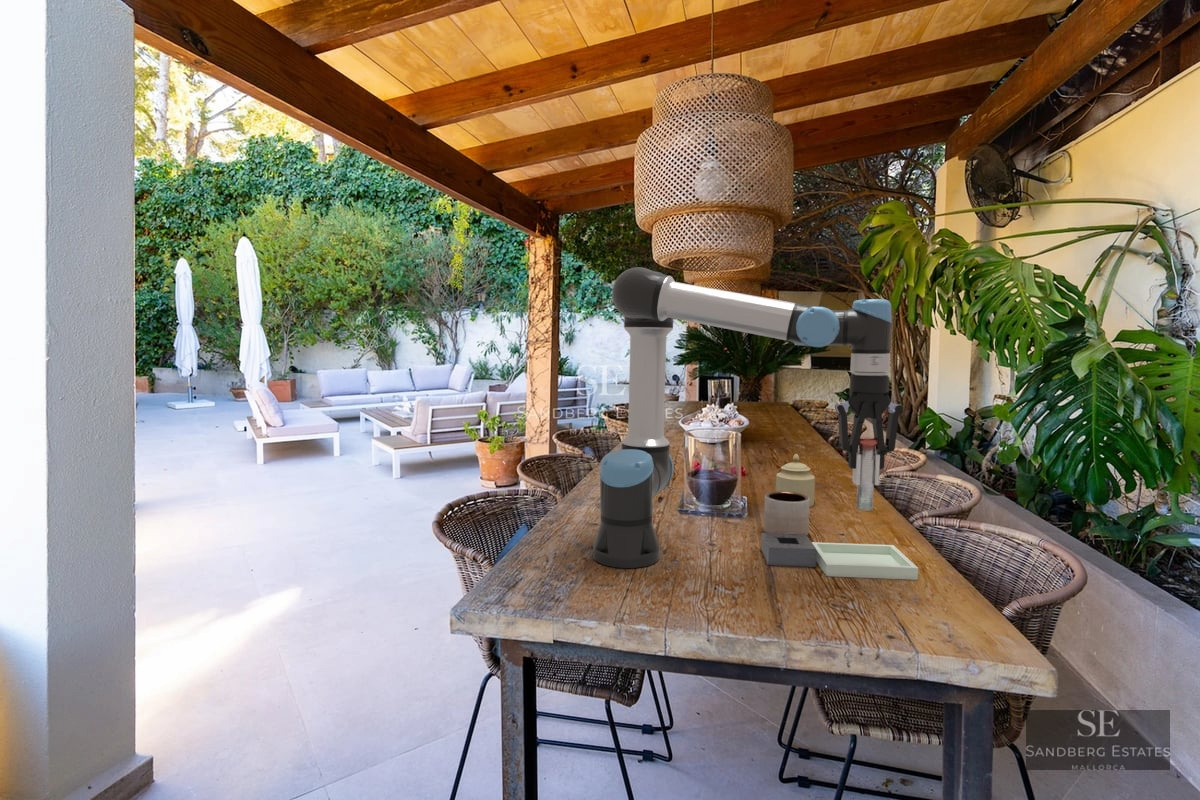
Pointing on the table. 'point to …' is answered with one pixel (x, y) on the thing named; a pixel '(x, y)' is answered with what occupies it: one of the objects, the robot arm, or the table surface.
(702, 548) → the table surface
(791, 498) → the planter
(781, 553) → the block
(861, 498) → the red capped tube
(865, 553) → the tray
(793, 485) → the sugar bowl
